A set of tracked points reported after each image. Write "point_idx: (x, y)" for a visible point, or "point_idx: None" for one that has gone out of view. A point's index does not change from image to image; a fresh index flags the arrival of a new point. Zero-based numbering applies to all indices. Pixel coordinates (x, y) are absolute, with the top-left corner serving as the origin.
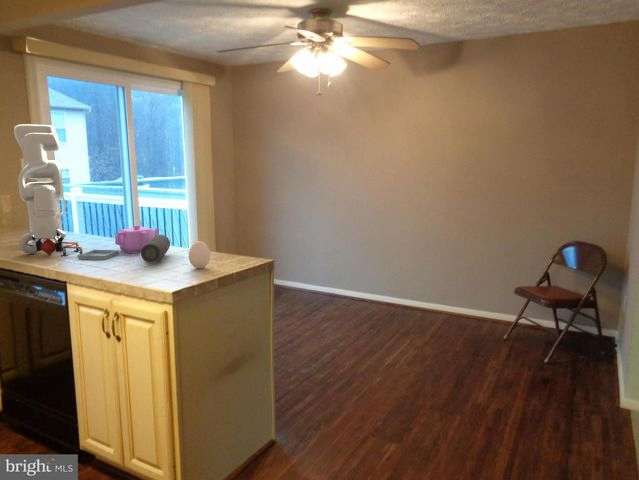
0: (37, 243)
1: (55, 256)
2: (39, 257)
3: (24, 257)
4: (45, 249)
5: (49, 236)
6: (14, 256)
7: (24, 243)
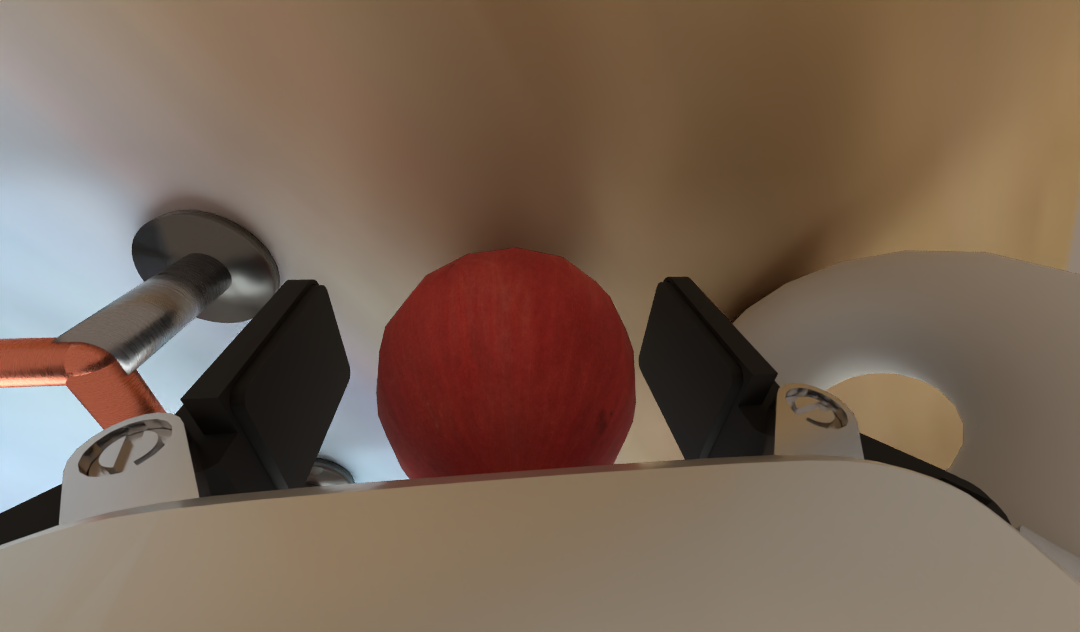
0: (738, 370)
1: (328, 207)
2: (551, 103)
3: (809, 84)
4: (496, 253)
5: (115, 626)
6: (967, 151)
7: (1030, 322)
